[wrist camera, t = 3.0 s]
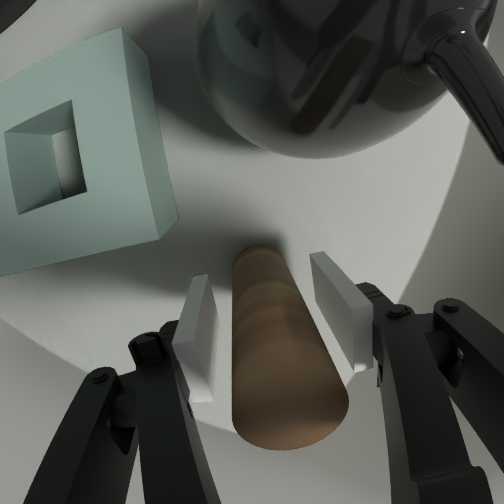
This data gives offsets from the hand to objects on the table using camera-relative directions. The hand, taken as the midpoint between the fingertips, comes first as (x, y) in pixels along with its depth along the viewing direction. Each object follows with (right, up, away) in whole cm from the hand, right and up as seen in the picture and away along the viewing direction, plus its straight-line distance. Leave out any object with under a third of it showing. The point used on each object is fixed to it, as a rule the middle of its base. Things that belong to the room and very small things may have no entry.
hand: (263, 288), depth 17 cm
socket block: (-11, +8, 0) cm, 13 cm away
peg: (0, +1, +3) cm, 3 cm away
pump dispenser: (+2, +12, 0) cm, 12 cm away
